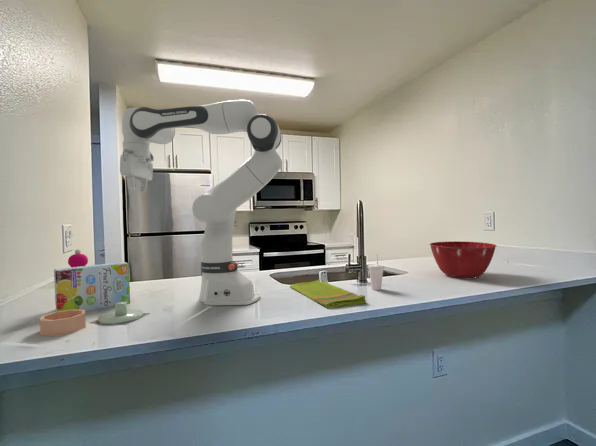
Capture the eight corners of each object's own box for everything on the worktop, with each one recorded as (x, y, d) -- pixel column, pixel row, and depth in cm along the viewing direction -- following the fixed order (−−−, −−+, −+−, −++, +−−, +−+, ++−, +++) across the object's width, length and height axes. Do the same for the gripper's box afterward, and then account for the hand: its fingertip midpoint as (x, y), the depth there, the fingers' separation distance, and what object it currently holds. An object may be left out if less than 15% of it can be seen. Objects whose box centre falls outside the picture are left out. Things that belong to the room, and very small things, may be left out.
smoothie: (386, 290, 130) (385, 255, 130) (370, 291, 130) (369, 255, 130) (382, 287, 137) (381, 253, 136) (366, 287, 137) (366, 254, 136)
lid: (151, 312, 105) (151, 298, 104) (124, 325, 93) (123, 309, 93) (118, 311, 107) (118, 297, 107) (88, 323, 95) (87, 307, 95)
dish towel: (327, 310, 107) (327, 300, 107) (289, 288, 140) (288, 281, 140) (367, 304, 113) (367, 295, 113) (321, 285, 146) (321, 277, 146)
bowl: (94, 325, 95) (93, 310, 95) (62, 338, 85) (62, 321, 85) (65, 324, 97) (64, 308, 97) (31, 336, 87) (30, 319, 87)
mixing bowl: (503, 283, 139) (502, 247, 139) (430, 280, 149) (430, 246, 149) (490, 272, 166) (490, 241, 165) (429, 269, 176) (429, 241, 175)
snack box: (126, 302, 121) (125, 261, 121) (130, 305, 117) (129, 262, 116) (55, 314, 108) (53, 268, 107) (56, 317, 103) (54, 270, 103)
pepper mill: (88, 301, 123) (87, 247, 123) (93, 304, 118) (91, 249, 118) (65, 305, 118) (63, 249, 118) (69, 308, 113) (67, 250, 113)
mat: (150, 315, 104) (150, 313, 104) (125, 326, 93) (125, 324, 93) (117, 313, 106) (117, 311, 106) (89, 324, 96) (89, 322, 96)
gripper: (132, 147, 111) (134, 188, 112) (155, 157, 132) (156, 192, 132) (113, 147, 111) (115, 188, 111) (139, 158, 131) (140, 192, 132)
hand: (138, 190), depth 122 cm, fingers open, 8 cm apart
